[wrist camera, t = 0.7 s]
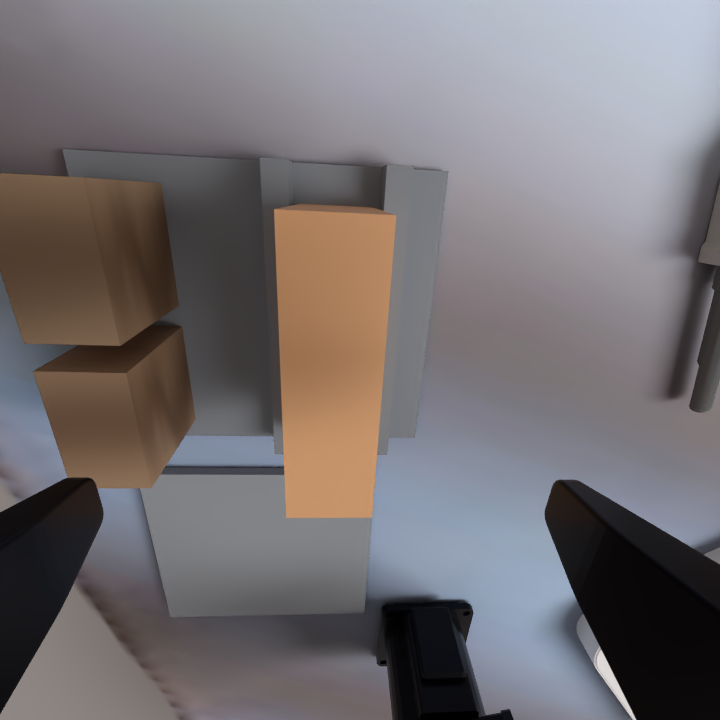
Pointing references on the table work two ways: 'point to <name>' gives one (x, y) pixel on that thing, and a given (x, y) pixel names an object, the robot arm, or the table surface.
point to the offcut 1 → (84, 258)
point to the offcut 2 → (120, 407)
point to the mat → (251, 547)
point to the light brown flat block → (332, 353)
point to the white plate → (598, 656)
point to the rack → (259, 277)
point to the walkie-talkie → (710, 322)
